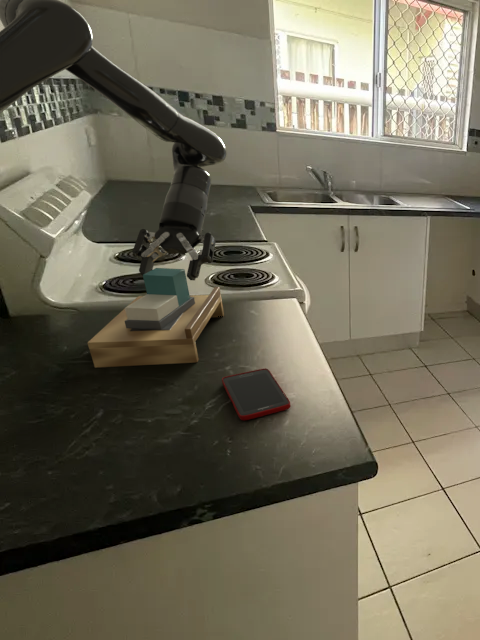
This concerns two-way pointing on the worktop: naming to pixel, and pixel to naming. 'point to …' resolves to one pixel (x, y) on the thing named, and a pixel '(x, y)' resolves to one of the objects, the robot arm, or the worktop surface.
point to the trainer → (160, 299)
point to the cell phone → (255, 394)
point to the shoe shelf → (155, 337)
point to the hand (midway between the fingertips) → (168, 277)
